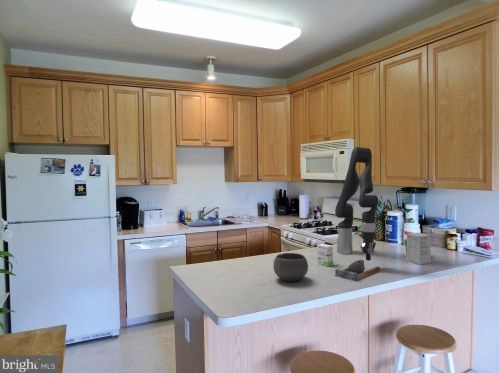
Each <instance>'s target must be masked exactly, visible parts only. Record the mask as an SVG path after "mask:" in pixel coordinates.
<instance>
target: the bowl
mask: <svg viewBox="0 0 499 373" xmlns="http://www.w3.org/2000/svg"><path fill="white" fill-rule="evenodd" d="M308 270H309V263H308V260H307V258H306V256H305V255H303V254H301V253H297V252H296V253H295V252H285V253H280V254H277V255H276V256H275V258H274V260H273V271H274V274H275V275H276V276H277V277H278V278H279V279H281V280H283V281H285V282H297V281H299V280H302V279H303V278H305V277H306V276H307V273H308Z"/></svg>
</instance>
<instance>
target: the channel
mask: <svg viewBox="0 0 499 373" xmlns="http://www.w3.org/2000/svg"><path fill="white" fill-rule="evenodd" d="M347 268H348V267H346V268H343V269H342V268H341V269H340V268H335V272H334V274H335V277H338V278H341V279H342V278H343V279H347V280H350V281H354V282H356V281H358V280H361V279H363V278H366V277H369V276H370V275H373V274H376V273H377V272H379V271H381V266H375V267H373V268H371V269H367V270H366V271H365V270H364V272H362V273H360V274H358V275H357V273H353V272H349V271H347Z"/></svg>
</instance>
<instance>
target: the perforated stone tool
mask: <svg viewBox="0 0 499 373" xmlns="http://www.w3.org/2000/svg"><path fill="white" fill-rule="evenodd" d="M365 267H366V266H365V261H364V260H363V259H359V260H355V261H353V262H352V263H350V264H349V265H348V267H346V268H347V271H349V272H353V273H357V275H358V274H360V273H363V272H365V269H366V268H365Z"/></svg>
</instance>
